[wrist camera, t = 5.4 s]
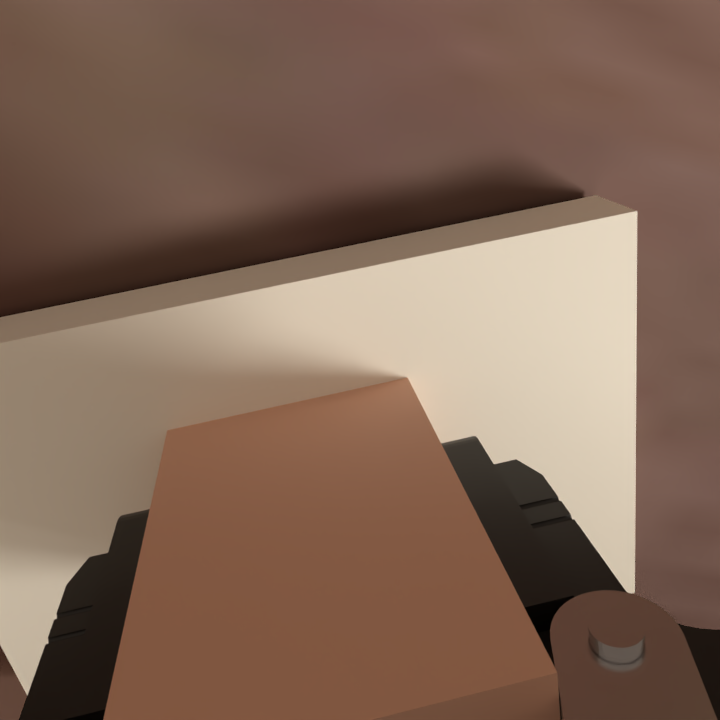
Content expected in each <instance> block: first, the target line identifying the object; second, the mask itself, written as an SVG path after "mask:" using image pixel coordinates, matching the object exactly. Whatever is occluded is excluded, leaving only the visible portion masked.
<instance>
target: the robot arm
mask: <svg viewBox="0 0 720 720" xmlns="http://www.w3.org/2000/svg"><path fill="white" fill-rule="evenodd" d="M441 444H442V446H443V448H444V450H445V452H446V454H447V456H448V458H449V460H450V462H451V464H452V466H453V468H454V470H455V472H456V474H457V476H458V478H459V480H460V482H461V484H462V486H463V488H464V490H465V492H466V494H467V496H468V498H469V499H470V501H471V503H472V505H473V507H474V509H475V511H476V513H477V515H478V517H479V519H480V521H481V523H482V525H483V527H484V529H485V531H486V533H487V535H488V537H489V539H490V541H491V543H492V545H493V547H494V549H495V551H496V553H497V555H498V557H499V559H500V561H501V562H502V564H503V566H504V568H505V570H506V572H507V574H508V576H509V578H510V580H511V582H512V584H513V586H514V588H515V590H516V592H517V594H518V596H519V598H520V600H521V602H522V604H523V606H524V608H525V610H526V612H527V614H528V616H529V618H530V620H531V622H532V624H533V625H534V627H535V629H536V631H537V633H538V635H539V637H540V639H541V641H542V643H543V645H544V647H545V649H546V651H547V653H548V655H549V657H550V659H551V661H552V663H553V665H554V667H555V669H556V671H557V675H558V691H559V707H560V720H720V630H711V629H699V628H693V627H688V626H684V625H680V624H677V622H676V621H675V620H674V618H673V617H672V616H670V615H669V614H668V613H667V612H666V611H665V610H664V609H662V608H661V607H660V606H658V605H657V604H655V603H653V602H651V601H649V600H647V599H645V598H643V597H640V596H637V595H634V594H631V593H627V592H626V590H625V589H624V588H623V586H622V585H621V584H620V582H619V581H618V579H617V578H616V577H615V575H614V574H613V572H612V571H611V570H610V568H609V567H608V565H607V564H606V563H605V561H604V560H603V558H602V557H601V556H600V554H599V553H598V552H597V550H596V549H595V547H594V546H593V545H592V543H591V542H590V540H589V539H588V538H587V536H586V535H585V533H584V532H583V531H582V529H581V528H580V526H579V525H578V524H577V522H576V521H575V519H573V520H572V517H571V514H570V512H569V511H568V510H567V508H566V507H565V506H564V504H563V503H562V501H559V499H558V496H557V494H556V493H555V492H554V490H553V489H552V487H551V486H550V485H549V483H548V482H547V480H546V479H545V478H544V476H543V475H542V474H540V473H539V472H537V471H535V470H534V469H532V468H530V467H529V466H527V465H525V464H523V463H522V462H520V461H518V460H517V459H515V460H511V461H506V462H502V463H498V464H493V462H492V461H491V459H490V457H489V456H488V454H487V452H486V451H485V449H484V448H483V446H482V444H481V443H480V441H479V440H478V438H477V437H476V436H471V437H467V438H463V439H458V440H454V441H449V442H445V443H441ZM149 510H150V509H147V510H143V511H139V512H134V513H130V514H125V515H121V516H120V517H119V518H118V521H117V523H116V527H115V530H114V534H113V537H112V541H111V544H110V548H109V551H108V553H105V554H100V555H96V556H92V557H89V558H88V559H87V560H86V562H85V563H84V564H83V565H82V566H81V568H80V569H79V570H78V571H77V573H76V574H75V575H74V576H73V577H72V579H71V580H70V581H69V582H68V584H67V585H66V587H65V590H64V593H63V596H62V599H61V602H60V605H59V607H58V610H57V613H56V614H57V619H54V622H53V624H52V627H51V630H50V633H49V636H48V644H45V647H44V650H43V653H42V656H41V658H40V661H39V664H38V667H37V670H36V673H35V676H34V678H33V681H32V684H31V687H30V690H29V693H28V695H27V698H26V701H25V704H24V707H23V710H22V712H21V715H20V718H19V720H103V719H104V714H105V709H106V705H107V700H108V696H109V691H110V687H111V682H112V678H113V673H114V669H115V664H116V660H117V655H118V651H119V646H120V642H121V637H122V633H123V628H124V624H125V619H126V614H127V610H128V605H129V601H130V596H131V592H132V587H133V583H134V578H135V574H136V569H137V565H138V560H139V556H140V551H141V547H142V542H143V538H144V533H145V529H146V524H147V519H148V515H149Z"/></svg>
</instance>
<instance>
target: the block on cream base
mask: <svg viewBox="0 0 720 720" xmlns="http://www.w3.org/2000/svg"><path fill="white" fill-rule="evenodd" d="M636 327H637V211H636V210H633V209H631V208H628V207H626V206H623V205H620V204H618V203H615V202H612V201H610V200H607V199H604V198H602V197H599V196H596V195H595V196H590V197H585V198H580V199H575V200H570V201H565V202H561V203H556V204H551V205H546V206H541V207H536V208H531V209H526V210H522V211H517V212H512V213H507V214H502V215H497V216H492V217H487V218H482V219H478V220H473V221H468V222H463V223H458V224H453V225H448V226H443V227H439V228H434V229H429V230H424V231H419V232H414V233H409V234H404V235H400V236H395V237H390V238H385V239H380V240H375V241H370V242H365V243H361V244H356V245H351V246H346V247H341V248H336V249H331V250H326V251H321V252H317V253H312V254H307V255H302V256H297V257H292V258H287V259H282V260H278V261H273V262H268V263H263V264H258V265H253V266H248V267H243V268H239V269H234V270H229V271H224V272H219V273H214V274H209V275H204V276H200V277H195V278H190V279H185V280H180V281H175V282H170V283H165V284H160V285H156V286H151V287H146V288H141V289H136V290H131V291H126V292H121V293H117V294H112V295H107V296H102V297H97V298H92V299H87V300H82V301H78V302H73V303H68V304H63V305H58V306H53V307H48V308H43V309H39V310H34V311H29V312H24V313H19V314H14V315H9V316H4V317H0V646H1V648H2V649H3V651H4V653H5V655H6V657H7V659H8V661H9V662H10V664H11V666H12V668H13V670H14V672H15V674H16V675H17V677H18V679H19V681H20V683H21V685H22V687H23V688H24V690H25V692H26V694H27V695H28V693H29V690H30V687H31V684H32V681H33V678H34V676H35V673H36V670H37V667H38V664H39V661H40V658H41V656H42V653H43V650H44V647H45V644H48V636H49V633H50V630H51V627H52V624H53V622H54V619H57V614H56V613H57V610H58V607H59V605H60V602H61V599H62V596H63V593H64V590H65V587H66V585H67V584H68V582H69V581H70V580H71V579H72V577H73V576H74V575H75V574H76V573H77V571H78V570H79V569H80V568H81V566H82V565H83V564H84V563H85V562H86V560H87V559H88V558H89V557H92V556H96V555H100V554H105V553H108V551H109V548H110V544H111V541H112V537H113V534H114V530H115V527H116V523H117V521H118V518H119V517H120V516H121V515H125V514H130V513H134V512H139V511H143V510H147V509H150V510H149V515H148V519H147V524H146V529H145V533H144V538H143V542H142V547H141V551H140V556H139V560H138V565H137V569H136V574H135V578H134V583H133V587H132V592H131V596H130V601H129V605H128V610H127V614H126V619H125V624H124V628H123V633H122V637H121V642H120V646H119V651H118V655H117V660H116V664H115V669H114V673H113V678H112V682H111V687H110V691H109V696H108V700H107V705H106V709H105V714H104V719H103V720H560V707H559V691H558V675H557V671H556V669H555V667H554V665H553V663H552V661H551V659H550V657H549V655H548V653H547V651H546V649H545V647H544V645H543V643H542V641H541V639H540V637H539V635H538V633H537V631H536V629H535V627H534V625H533V624H532V622H531V620H530V618H529V616H528V614H527V612H526V610H525V608H524V606H523V604H522V602H521V600H520V598H519V596H518V594H517V592H516V590H515V588H514V586H513V584H512V582H511V580H510V578H509V576H508V574H507V572H506V570H505V568H504V566H503V564H502V562H501V561H500V559H499V557H498V555H497V553H496V551H495V549H494V547H493V545H492V543H491V541H490V539H489V537H488V535H487V533H486V531H485V529H484V527H483V525H482V523H481V521H480V519H479V517H478V515H477V513H476V511H475V509H474V507H473V505H472V503H471V501H470V499H469V498H468V496H467V494H466V492H465V490H464V488H463V486H462V484H461V482H460V480H459V478H458V476H457V474H456V472H455V470H454V468H453V466H452V464H451V462H450V460H449V458H448V456H447V454H446V452H445V450H444V448H443V446H442V444H441V443H445V442H449V441H454V440H458V439H463V438H467V437H471V436H476V437H477V438H478V440H479V441H480V443H481V444H482V446H483V448H484V449H485V451H486V452H487V454H488V456H489V457H490V459H491V461H492V462H493V464H498V463H502V462H506V461H511V460H515V459H517V460H518V461H520V462H522V463H523V464H525V465H527V466H529V467H530V468H532V469H534V470H535V471H537V472H539V473H540V474H542V475H543V476H544V478H545V479H546V480H547V482H548V483H549V485H550V486H551V487H552V489H553V490H554V492H555V493H556V494H557V496H558V499H559V501H562V503H563V504H564V506H565V507H566V508H567V510H568V511H569V512H570V514H571V517H572V520H573V519H575V521H576V522H577V524H578V525H579V526H580V528H581V529H582V531H583V532H584V533H585V535H586V536H587V538H588V539H589V540H590V542H591V543H592V545H593V546H594V547H595V549H596V550H597V552H598V553H599V554H600V556H601V557H602V558H603V560H604V561H605V563H606V564H607V565H608V567H609V568H610V570H611V571H612V572H613V574H614V575H615V577H616V578H617V579H618V581H619V582H620V584H621V585H622V586H623V588H624V589H625V590H626V592H627V593H631V594H632V593H635V489H636Z"/></svg>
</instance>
